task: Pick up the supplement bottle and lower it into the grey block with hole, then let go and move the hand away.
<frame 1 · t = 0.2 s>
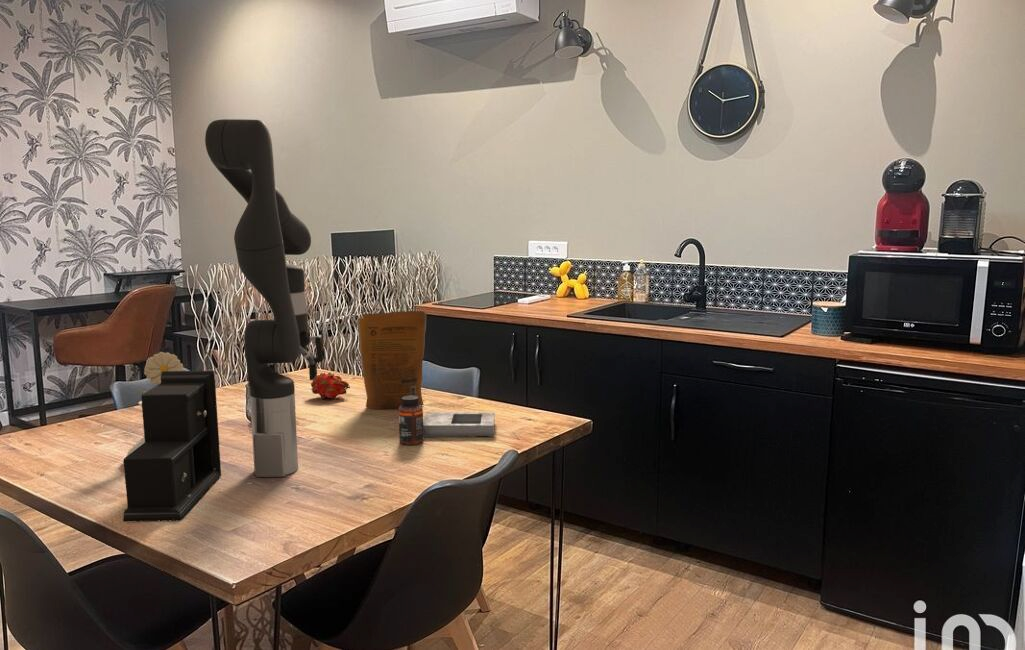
hand: (293, 379, 178), 17 cm above the table, tool pointing down, fingers open, 8 cm apart
supplement bottle: (411, 442, 187), on the table
flower in vase: (159, 460, 174), on the table
black drawer cabinet: (176, 499, 152), on the table
pancake mix bag: (394, 408, 219), on the table
dragon fruit: (330, 398, 229), on the table
grey block with hole: (459, 430, 197), on the table
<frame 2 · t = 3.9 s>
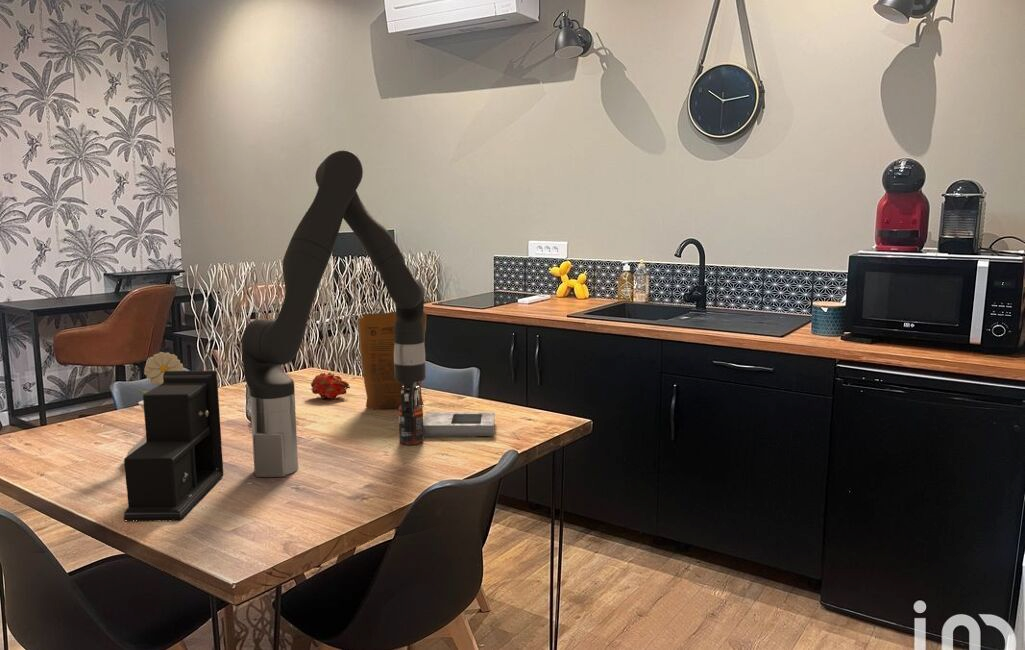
hand: (411, 427, 186), 4 cm above the table, tool pointing down, fingers closed on supplement bottle, 6 cm apart
supplement bottle: (411, 442, 187), on the table, touching gripper
everything else where it was.
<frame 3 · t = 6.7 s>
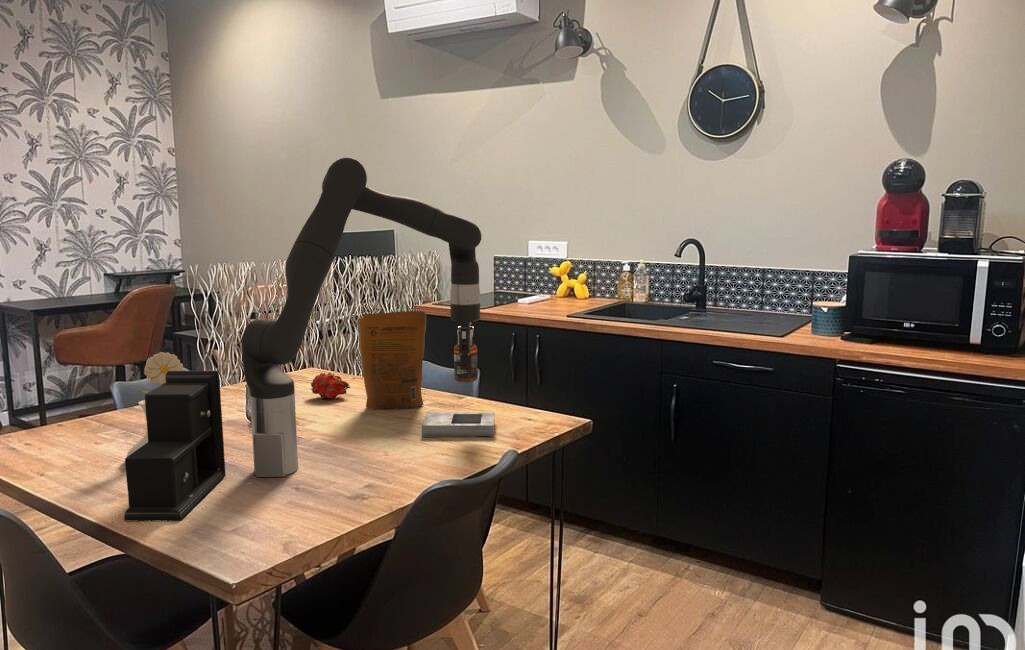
hand: (465, 366, 194), 17 cm above the table, tool pointing down, fingers closed on supplement bottle, 6 cm apart
supplement bottle: (466, 381, 195), point 13 cm above the table, touching gripper
everything else where it was.
when the fingers open (5 cm above the table, at t = 9.5 s): supplement bottle drops 2 cm, resting in grey block with hole.
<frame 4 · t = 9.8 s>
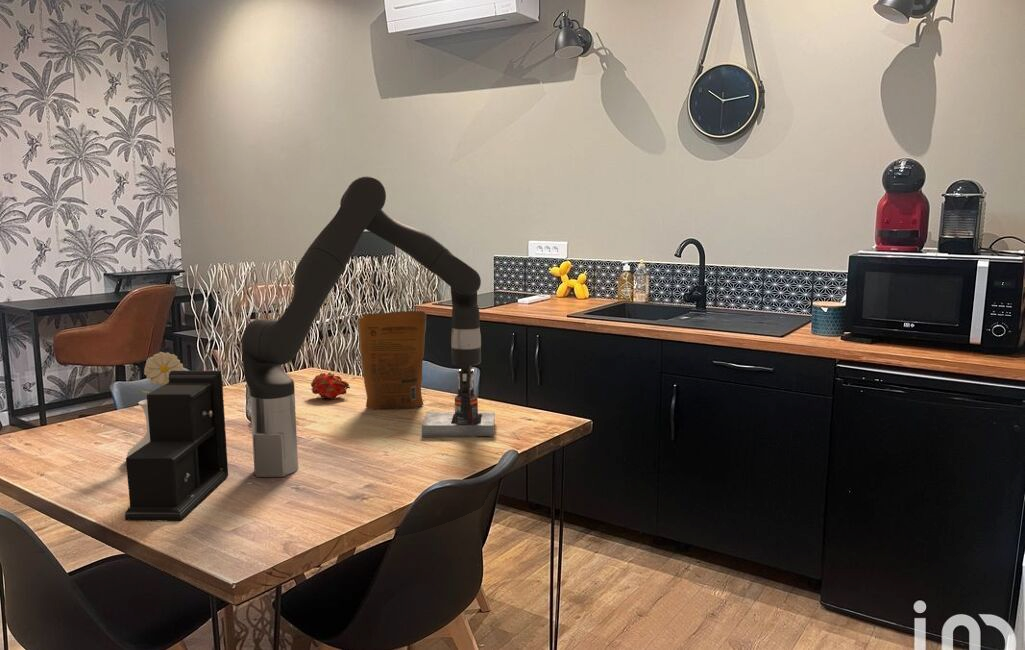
hand: (466, 407, 196), 6 cm above the table, tool pointing down, fingers open, 8 cm apart
supplement bottle: (466, 430, 197), resting in grey block with hole
everything else where it was.
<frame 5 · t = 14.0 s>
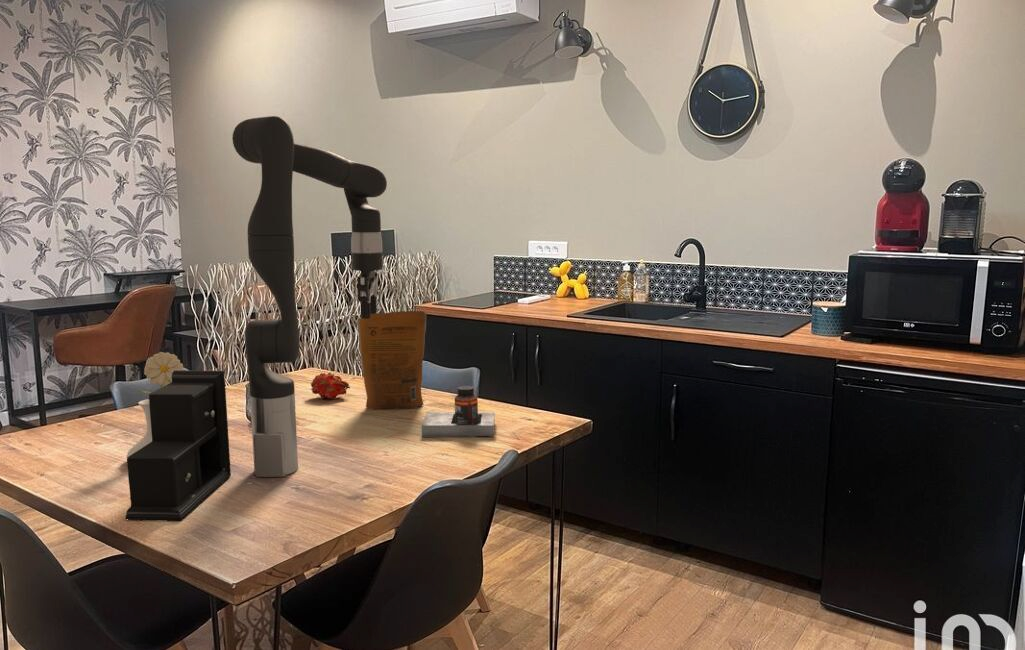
hand: (369, 315, 190), 30 cm above the table, tool pointing down, fingers open, 8 cm apart
at the end: supplement bottle 0.1 cm from the target spot on the grey block with hole, point 0.0 cm above the grey block with hole's base; supplement bottle tilted 0°; the gripper is holding nothing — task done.
